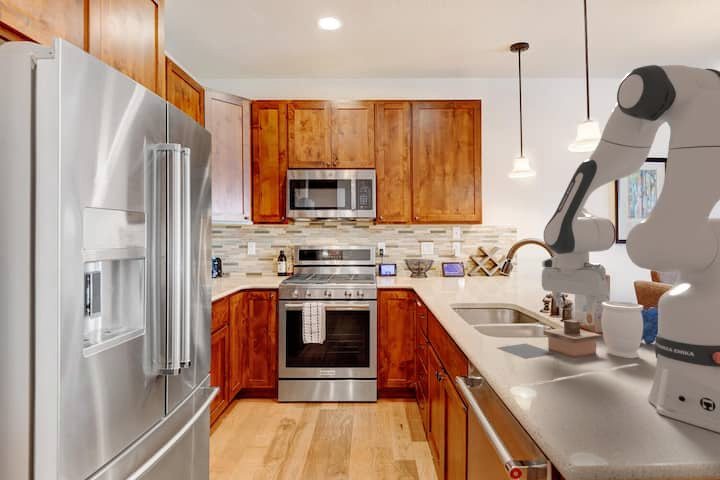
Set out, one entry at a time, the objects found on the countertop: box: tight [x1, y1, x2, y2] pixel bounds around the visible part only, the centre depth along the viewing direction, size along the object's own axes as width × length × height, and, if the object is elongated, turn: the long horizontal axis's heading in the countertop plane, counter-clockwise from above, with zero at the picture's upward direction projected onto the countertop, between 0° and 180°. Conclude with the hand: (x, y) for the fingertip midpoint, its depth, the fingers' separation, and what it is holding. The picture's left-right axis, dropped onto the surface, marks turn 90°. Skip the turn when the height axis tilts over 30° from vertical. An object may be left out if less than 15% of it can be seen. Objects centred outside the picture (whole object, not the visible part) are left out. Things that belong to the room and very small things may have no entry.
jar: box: [601, 301, 644, 359], centre depth 121 cm, size 11×10×15 cm
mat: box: [497, 343, 558, 360], centre depth 124 cm, size 12×12×1 cm
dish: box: [547, 335, 597, 358], centre depth 123 cm, size 9×9×5 cm
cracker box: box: [573, 274, 611, 334], centre depth 153 cm, size 14×6×21 cm, turn 179°
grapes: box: [641, 306, 658, 345], centre depth 133 cm, size 12×7×12 cm, turn 49°
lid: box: [543, 319, 603, 343], centre depth 122 cm, size 11×11×5 cm
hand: (573, 309), depth 122 cm, fingers open, 8 cm apart
